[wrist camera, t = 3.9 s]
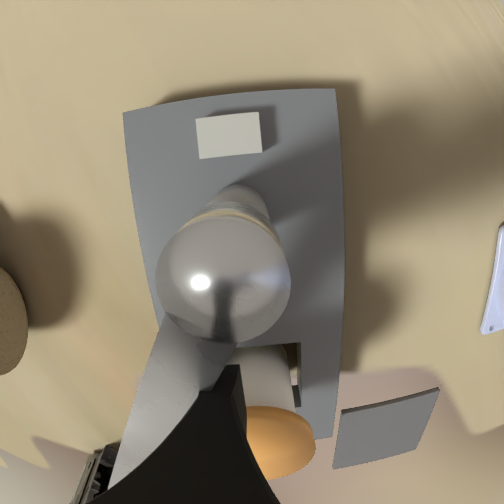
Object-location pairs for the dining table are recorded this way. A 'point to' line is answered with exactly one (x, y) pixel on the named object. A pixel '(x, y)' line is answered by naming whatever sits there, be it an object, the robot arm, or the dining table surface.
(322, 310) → the grey panel with tab
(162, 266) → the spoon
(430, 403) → the rubber mat
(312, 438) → the mushroom
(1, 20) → the dining table surface
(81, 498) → the electrical switch
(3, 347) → the ceramic mug
